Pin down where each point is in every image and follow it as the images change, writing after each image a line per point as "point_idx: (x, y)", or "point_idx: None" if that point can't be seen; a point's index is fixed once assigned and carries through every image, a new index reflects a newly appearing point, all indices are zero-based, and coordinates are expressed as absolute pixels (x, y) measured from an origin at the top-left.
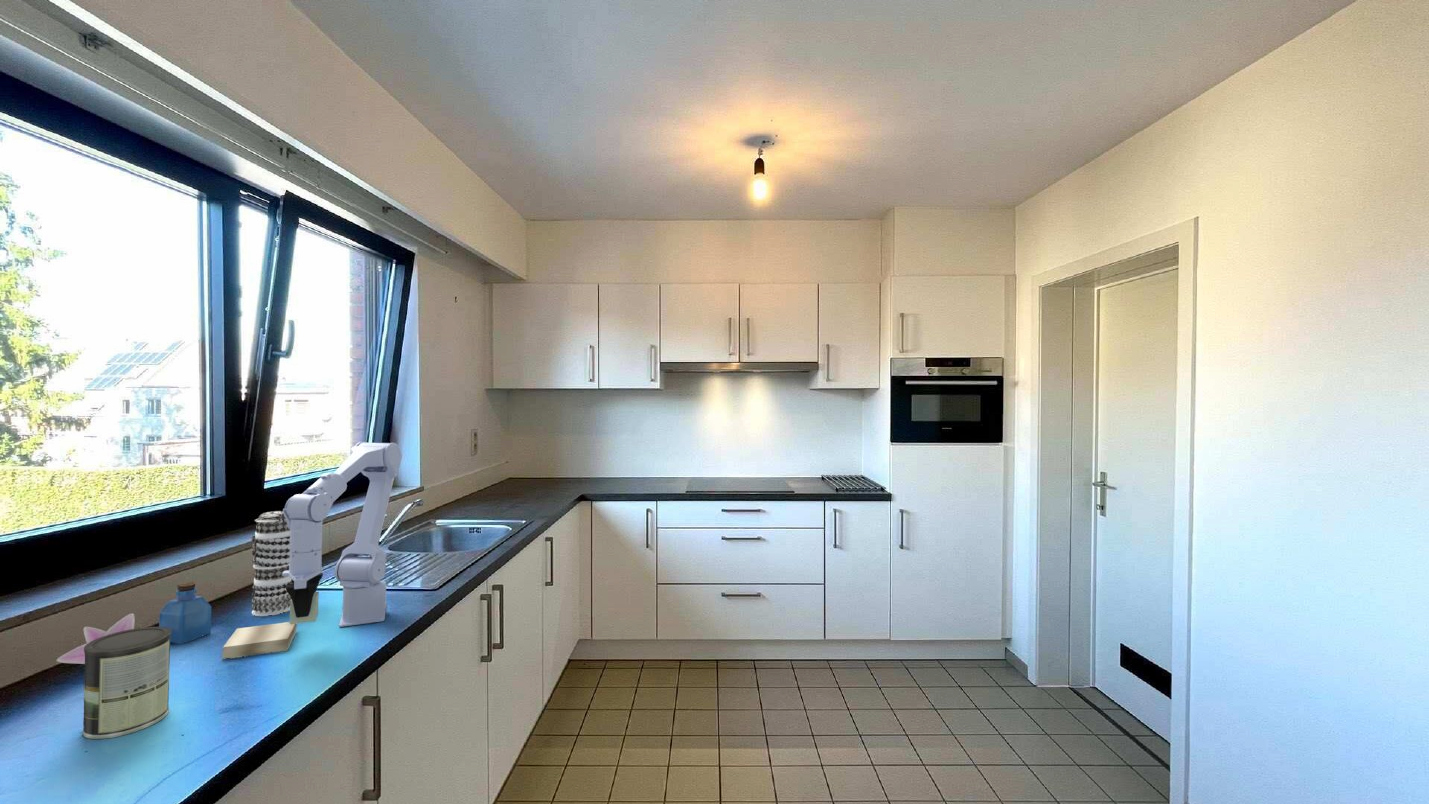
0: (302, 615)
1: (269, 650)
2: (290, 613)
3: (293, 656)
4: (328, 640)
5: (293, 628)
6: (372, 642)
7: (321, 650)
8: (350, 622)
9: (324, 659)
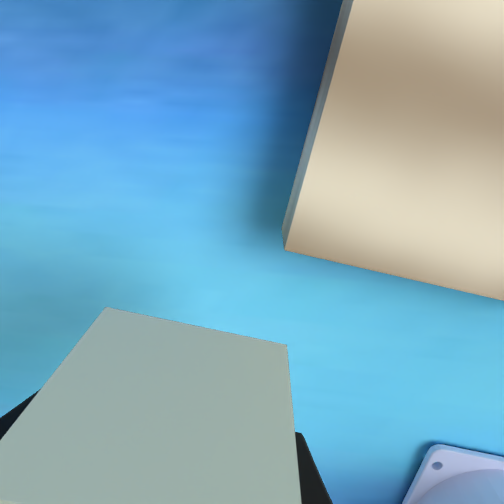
0: None
1: (304, 152)
2: (58, 368)
3: (173, 244)
4: (293, 385)
5: (475, 291)
6: None
7: None
8: (434, 488)
9: (59, 344)
